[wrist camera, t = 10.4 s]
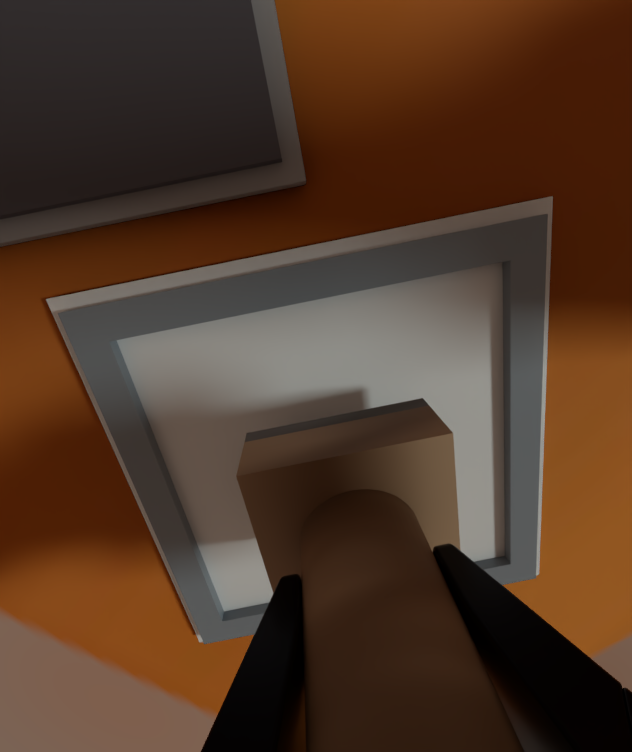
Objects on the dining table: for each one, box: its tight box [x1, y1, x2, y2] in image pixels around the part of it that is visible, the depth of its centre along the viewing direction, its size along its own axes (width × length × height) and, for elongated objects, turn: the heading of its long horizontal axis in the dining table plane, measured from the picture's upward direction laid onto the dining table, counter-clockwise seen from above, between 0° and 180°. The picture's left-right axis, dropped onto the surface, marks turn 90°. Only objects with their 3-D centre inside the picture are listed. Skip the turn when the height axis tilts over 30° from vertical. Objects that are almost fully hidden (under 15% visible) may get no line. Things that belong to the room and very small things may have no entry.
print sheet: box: [46, 196, 553, 644], centre depth 12 cm, size 14×14×1 cm
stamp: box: [236, 398, 524, 752], centre depth 8 cm, size 5×5×7 cm
